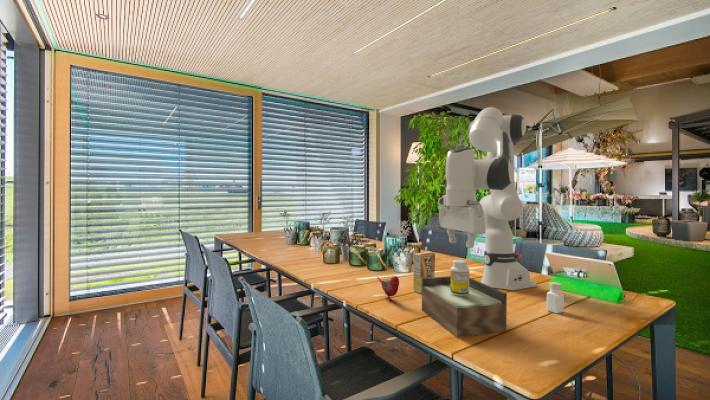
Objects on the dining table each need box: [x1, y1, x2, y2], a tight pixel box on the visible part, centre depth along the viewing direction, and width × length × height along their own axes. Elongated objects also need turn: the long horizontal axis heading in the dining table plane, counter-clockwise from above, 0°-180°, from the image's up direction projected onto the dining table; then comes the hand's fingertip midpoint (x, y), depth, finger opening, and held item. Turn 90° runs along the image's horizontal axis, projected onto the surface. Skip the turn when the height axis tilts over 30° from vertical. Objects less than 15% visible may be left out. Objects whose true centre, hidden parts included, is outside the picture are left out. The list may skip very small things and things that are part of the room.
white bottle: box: [546, 281, 565, 314], centre depth 115 cm, size 4×4×10 cm
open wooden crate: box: [421, 275, 508, 338], centre depth 107 cm, size 16×22×11 cm
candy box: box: [412, 251, 436, 294], centre depth 139 cm, size 9×4×15 cm, turn 129°
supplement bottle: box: [450, 259, 470, 296], centre depth 106 cm, size 6×6×10 cm
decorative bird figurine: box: [377, 275, 400, 302], centre depth 128 cm, size 3×18×10 cm, turn 22°
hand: (461, 245), depth 105 cm, fingers open, 8 cm apart
